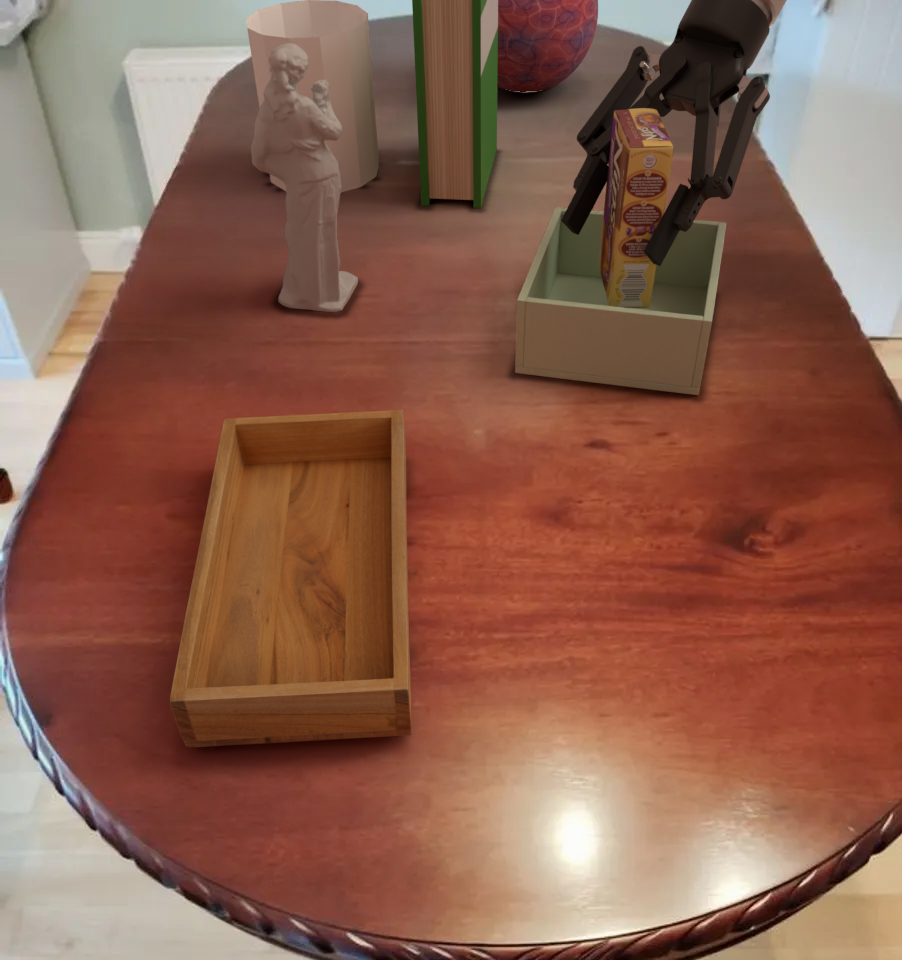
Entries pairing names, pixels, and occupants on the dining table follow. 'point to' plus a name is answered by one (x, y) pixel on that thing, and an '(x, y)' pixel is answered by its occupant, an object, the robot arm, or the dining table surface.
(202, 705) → the tray
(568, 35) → the decorative sphere
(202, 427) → the dining table surface
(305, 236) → the figurine
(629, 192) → the candy box
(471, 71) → the hardback book
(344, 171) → the container
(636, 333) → the bin
